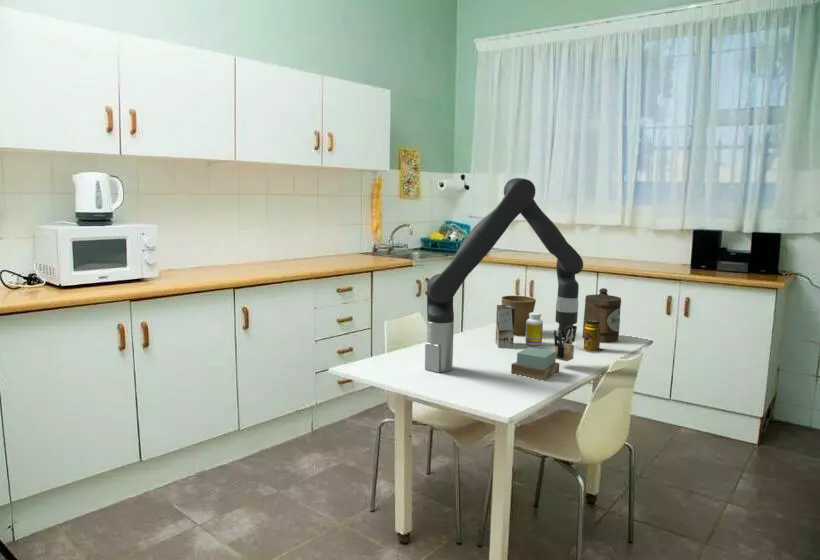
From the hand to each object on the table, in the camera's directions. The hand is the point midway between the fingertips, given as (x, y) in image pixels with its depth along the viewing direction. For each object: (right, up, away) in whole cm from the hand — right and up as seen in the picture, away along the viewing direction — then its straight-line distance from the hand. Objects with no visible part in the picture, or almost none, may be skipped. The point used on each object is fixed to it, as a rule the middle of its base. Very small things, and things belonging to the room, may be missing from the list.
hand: (563, 355), depth 213 cm
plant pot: (-8, +3, +50) cm, 50 cm away
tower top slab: (-12, -2, -8) cm, 14 cm away
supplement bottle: (-4, +1, +33) cm, 33 cm away
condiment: (+18, -1, +25) cm, 31 cm away
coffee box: (-17, 0, +30) cm, 34 cm away
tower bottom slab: (-12, -6, -7) cm, 15 cm away
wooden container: (+27, +2, +43) cm, 51 cm away
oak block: (0, -1, 0) cm, 1 cm away
